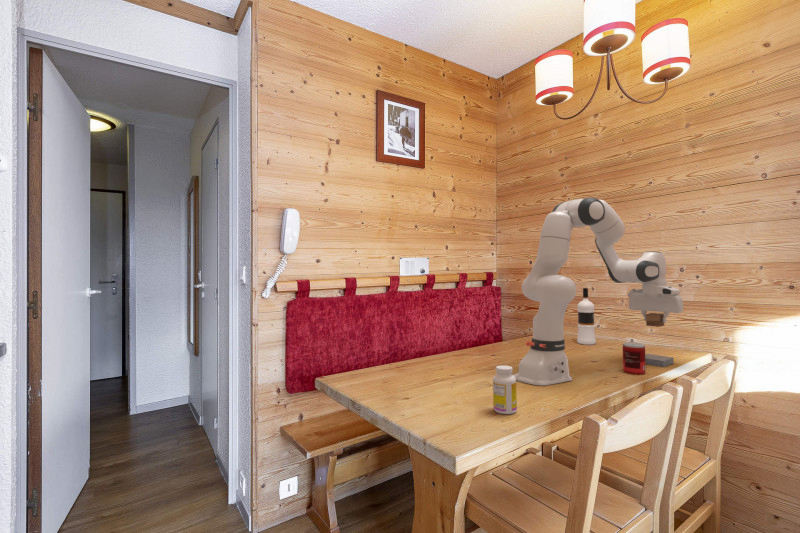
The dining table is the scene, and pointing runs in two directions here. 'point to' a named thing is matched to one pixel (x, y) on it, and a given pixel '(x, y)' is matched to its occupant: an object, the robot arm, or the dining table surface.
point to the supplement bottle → (504, 391)
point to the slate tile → (658, 360)
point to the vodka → (586, 321)
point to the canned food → (634, 358)
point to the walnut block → (654, 319)
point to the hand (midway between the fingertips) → (655, 321)
